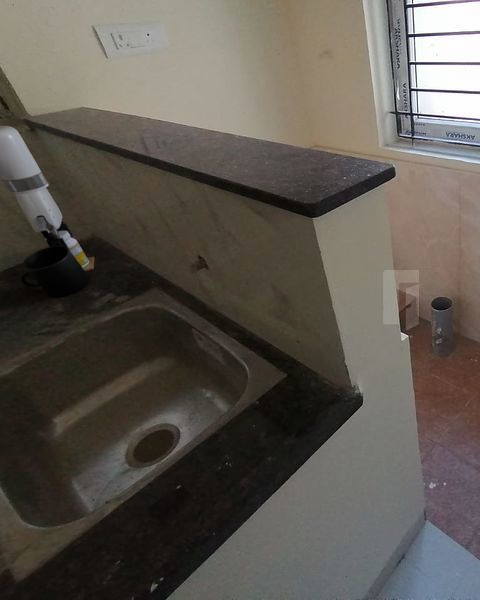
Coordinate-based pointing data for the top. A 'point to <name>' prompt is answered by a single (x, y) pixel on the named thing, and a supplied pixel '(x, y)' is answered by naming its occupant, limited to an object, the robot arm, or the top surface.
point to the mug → (55, 271)
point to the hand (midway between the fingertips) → (64, 245)
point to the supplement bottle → (74, 248)
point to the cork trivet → (89, 264)
